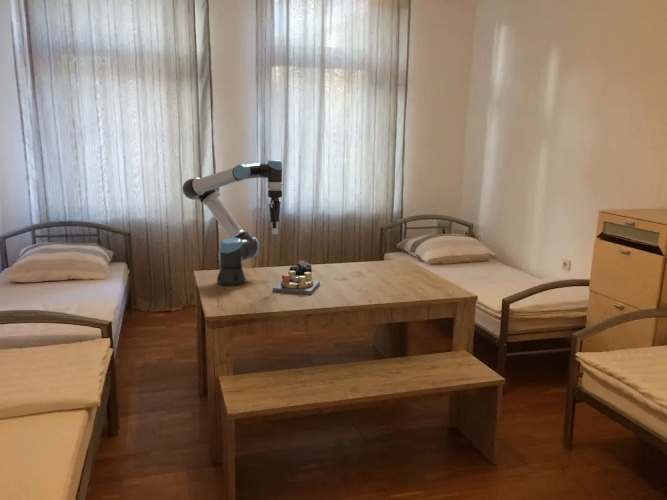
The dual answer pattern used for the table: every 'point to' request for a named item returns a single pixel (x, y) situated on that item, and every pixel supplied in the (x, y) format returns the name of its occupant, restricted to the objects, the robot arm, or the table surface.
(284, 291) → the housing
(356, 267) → the table surface
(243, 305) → the table surface
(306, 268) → the camera
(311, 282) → the octagonal wooden frame
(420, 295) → the table surface
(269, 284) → the table surface
